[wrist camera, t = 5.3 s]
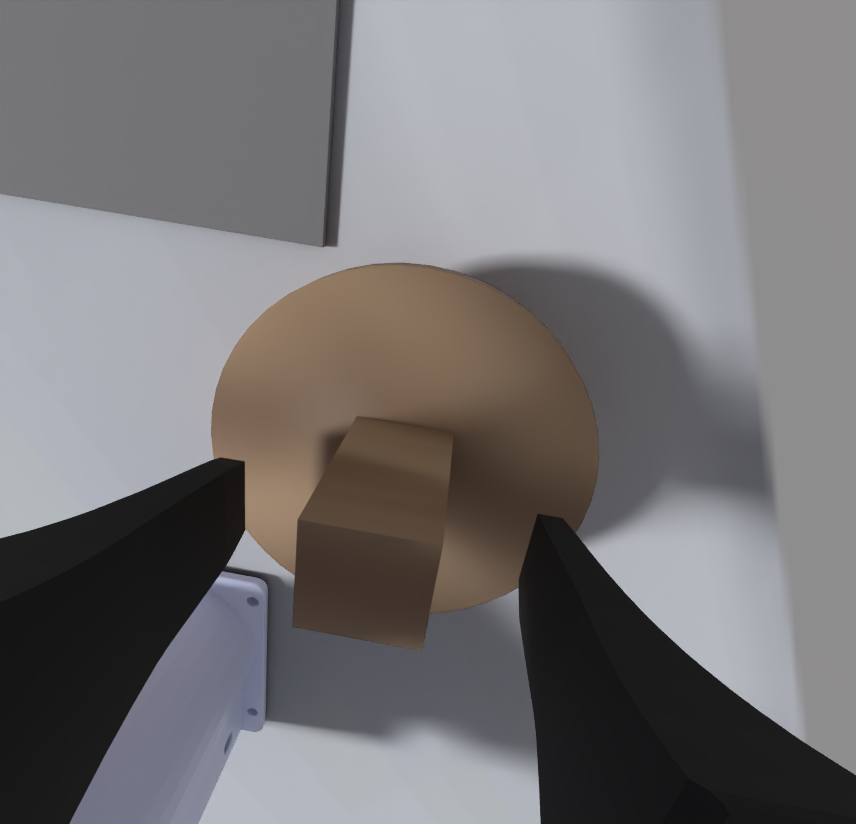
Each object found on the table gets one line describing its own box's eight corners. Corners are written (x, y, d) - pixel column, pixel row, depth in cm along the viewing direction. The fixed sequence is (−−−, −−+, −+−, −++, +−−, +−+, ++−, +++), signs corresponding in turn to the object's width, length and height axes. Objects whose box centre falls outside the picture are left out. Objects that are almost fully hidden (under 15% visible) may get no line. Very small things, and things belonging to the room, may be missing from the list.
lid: (540, 620, 16) (570, 807, 11) (228, 563, 16) (118, 720, 11) (645, 301, 12) (770, 368, 7) (220, 230, 12) (38, 245, 7)
